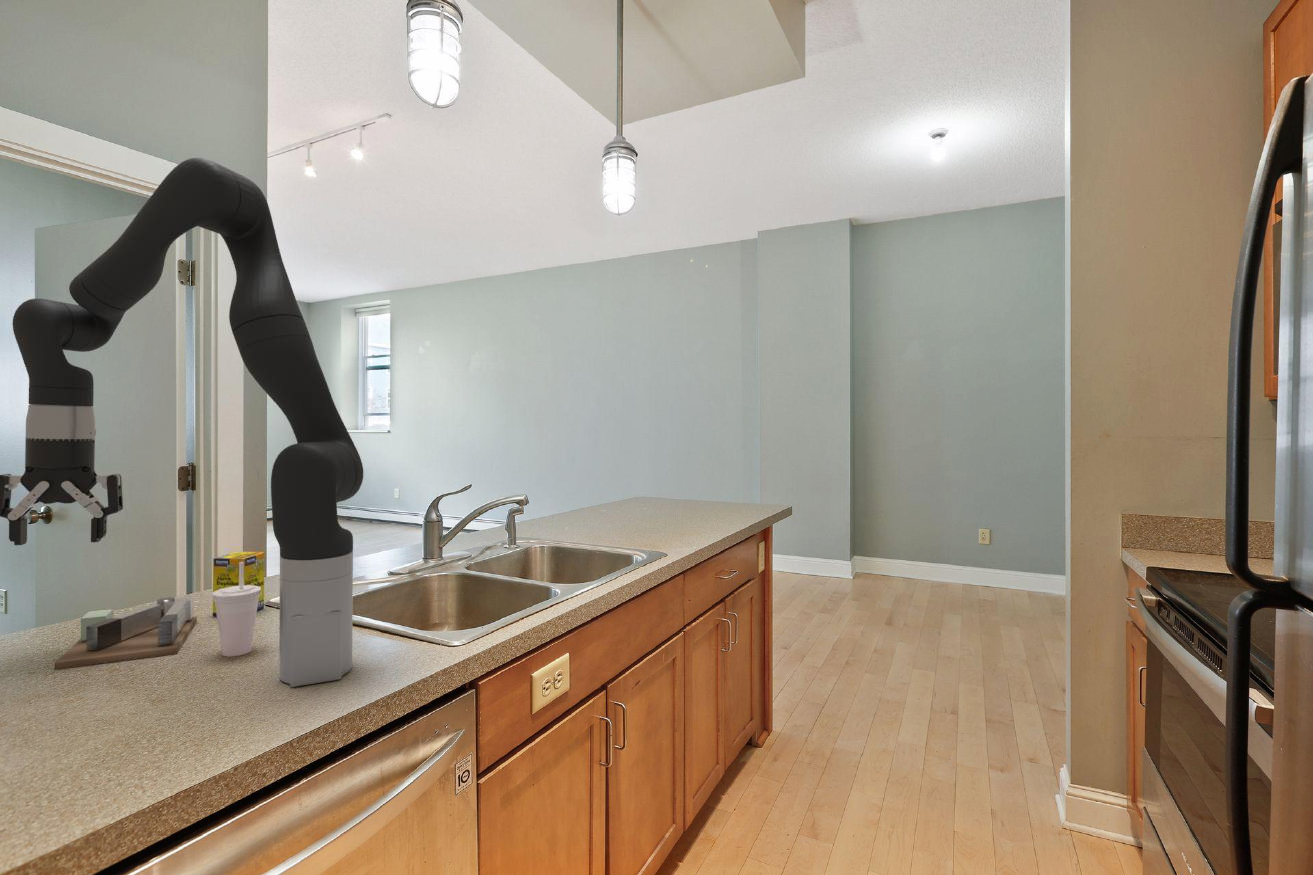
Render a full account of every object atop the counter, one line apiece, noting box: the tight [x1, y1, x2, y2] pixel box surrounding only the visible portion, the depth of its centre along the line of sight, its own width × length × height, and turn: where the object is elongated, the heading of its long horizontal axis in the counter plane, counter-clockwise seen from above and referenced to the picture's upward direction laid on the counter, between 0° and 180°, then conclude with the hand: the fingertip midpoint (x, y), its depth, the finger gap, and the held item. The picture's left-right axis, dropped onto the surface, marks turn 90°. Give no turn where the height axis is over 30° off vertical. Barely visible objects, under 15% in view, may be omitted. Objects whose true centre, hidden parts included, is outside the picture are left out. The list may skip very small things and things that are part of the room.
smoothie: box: [211, 562, 262, 658], centre depth 96 cm, size 6×6×14 cm
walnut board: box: [53, 615, 198, 671], centre depth 99 cm, size 17×14×1 cm
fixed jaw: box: [156, 596, 194, 646], centre depth 101 cm, size 15×5×4 cm, turn 28°
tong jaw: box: [86, 603, 161, 651], centre depth 98 cm, size 12×2×4 cm, turn 178°
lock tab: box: [80, 608, 114, 641], centre depth 99 cm, size 4×3×4 cm
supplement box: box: [212, 551, 265, 618], centre depth 115 cm, size 6×6×11 cm
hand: (59, 542), depth 93 cm, fingers open, 8 cm apart
